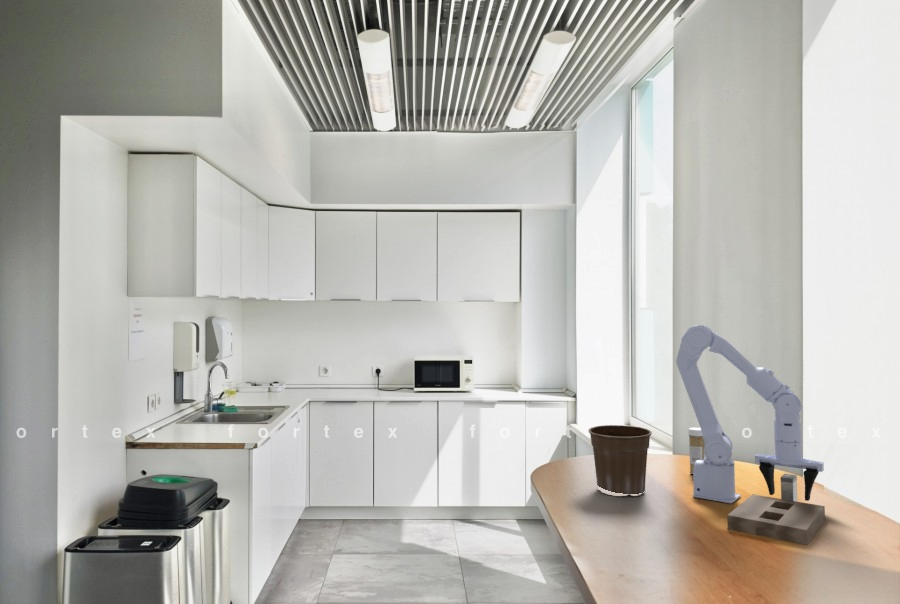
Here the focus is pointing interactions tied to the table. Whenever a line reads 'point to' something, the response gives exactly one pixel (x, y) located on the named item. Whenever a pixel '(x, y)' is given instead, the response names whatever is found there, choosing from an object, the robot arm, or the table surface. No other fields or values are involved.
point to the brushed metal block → (789, 487)
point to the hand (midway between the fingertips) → (789, 496)
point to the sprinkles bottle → (696, 446)
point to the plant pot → (620, 457)
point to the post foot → (777, 518)
